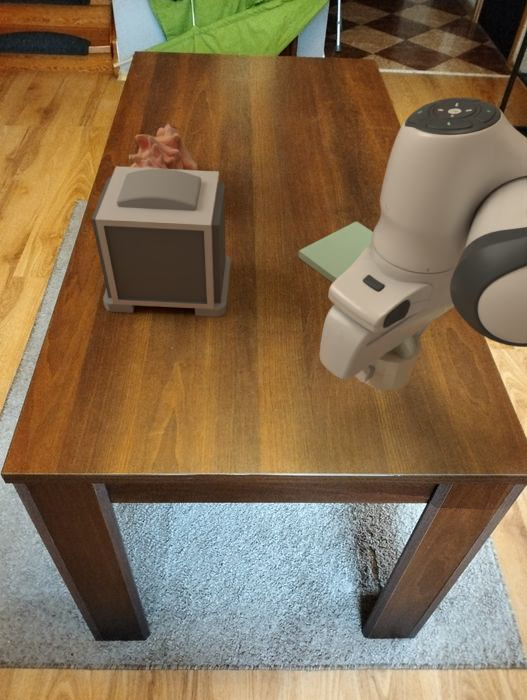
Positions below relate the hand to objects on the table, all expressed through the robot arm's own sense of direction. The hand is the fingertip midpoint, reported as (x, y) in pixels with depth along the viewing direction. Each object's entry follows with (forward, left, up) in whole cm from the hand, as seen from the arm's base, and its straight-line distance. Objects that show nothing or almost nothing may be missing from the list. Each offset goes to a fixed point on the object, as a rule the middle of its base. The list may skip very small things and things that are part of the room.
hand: (385, 360), depth 67 cm
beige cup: (0, 0, -2) cm, 2 cm away
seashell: (+59, -7, -11) cm, 61 cm away
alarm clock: (+37, +6, -11) cm, 39 cm away
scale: (+22, -22, -11) cm, 33 cm away
